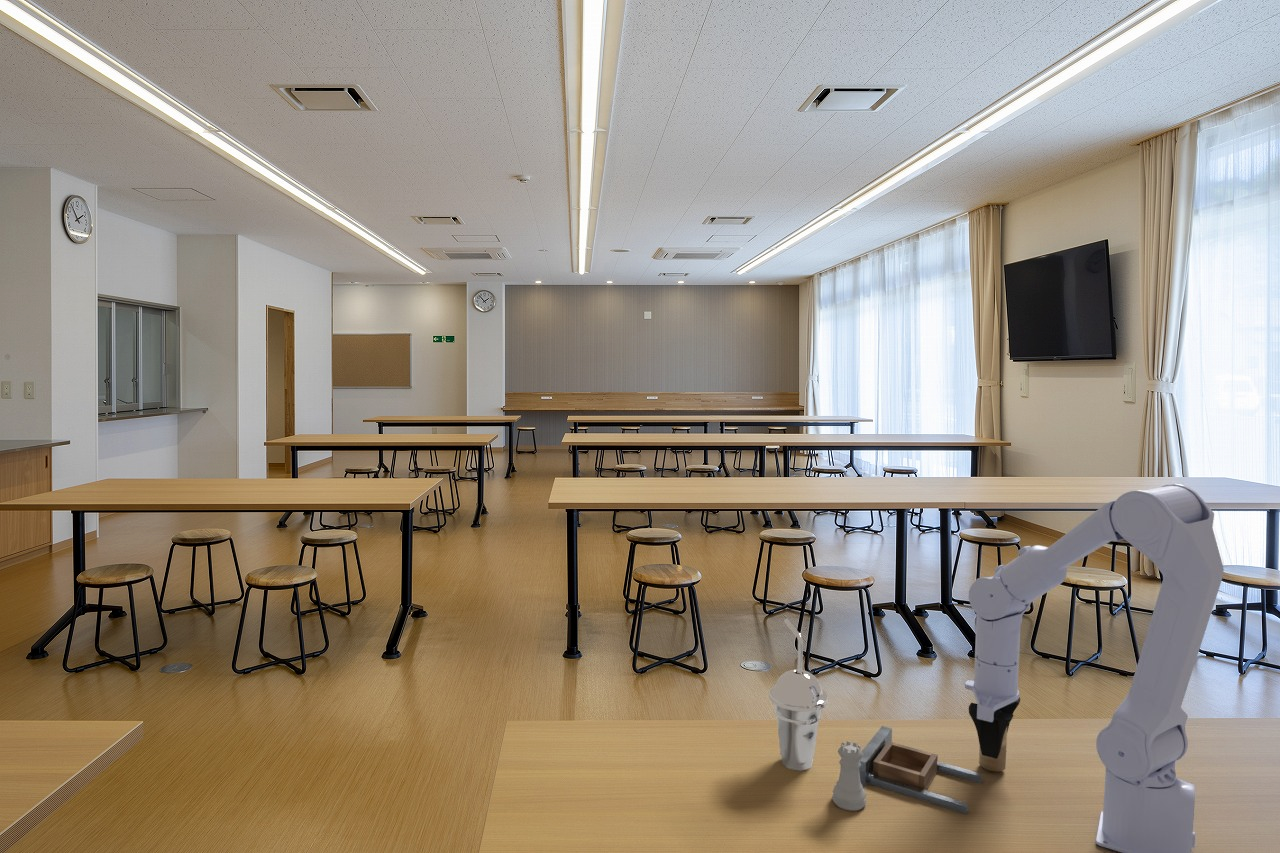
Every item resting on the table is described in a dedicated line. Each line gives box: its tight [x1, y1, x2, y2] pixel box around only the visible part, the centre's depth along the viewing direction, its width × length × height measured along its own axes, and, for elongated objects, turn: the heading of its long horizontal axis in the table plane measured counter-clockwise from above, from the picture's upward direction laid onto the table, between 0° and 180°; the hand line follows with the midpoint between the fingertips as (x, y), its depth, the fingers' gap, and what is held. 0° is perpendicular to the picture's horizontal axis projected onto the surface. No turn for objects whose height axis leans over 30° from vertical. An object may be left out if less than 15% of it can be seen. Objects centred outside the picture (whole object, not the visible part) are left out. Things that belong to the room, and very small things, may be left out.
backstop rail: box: [859, 725, 983, 815], centre depth 111 cm, size 14×12×4 cm
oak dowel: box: [978, 711, 1008, 772], centre depth 114 cm, size 4×4×8 cm
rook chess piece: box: [831, 740, 867, 812], centre depth 105 cm, size 4×4×8 cm
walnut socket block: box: [873, 741, 939, 791], centre depth 112 cm, size 7×7×3 cm
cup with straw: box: [768, 618, 829, 771], centre depth 115 cm, size 8×9×20 cm
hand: (992, 750), depth 114 cm, fingers closed on oak dowel, 3 cm apart
